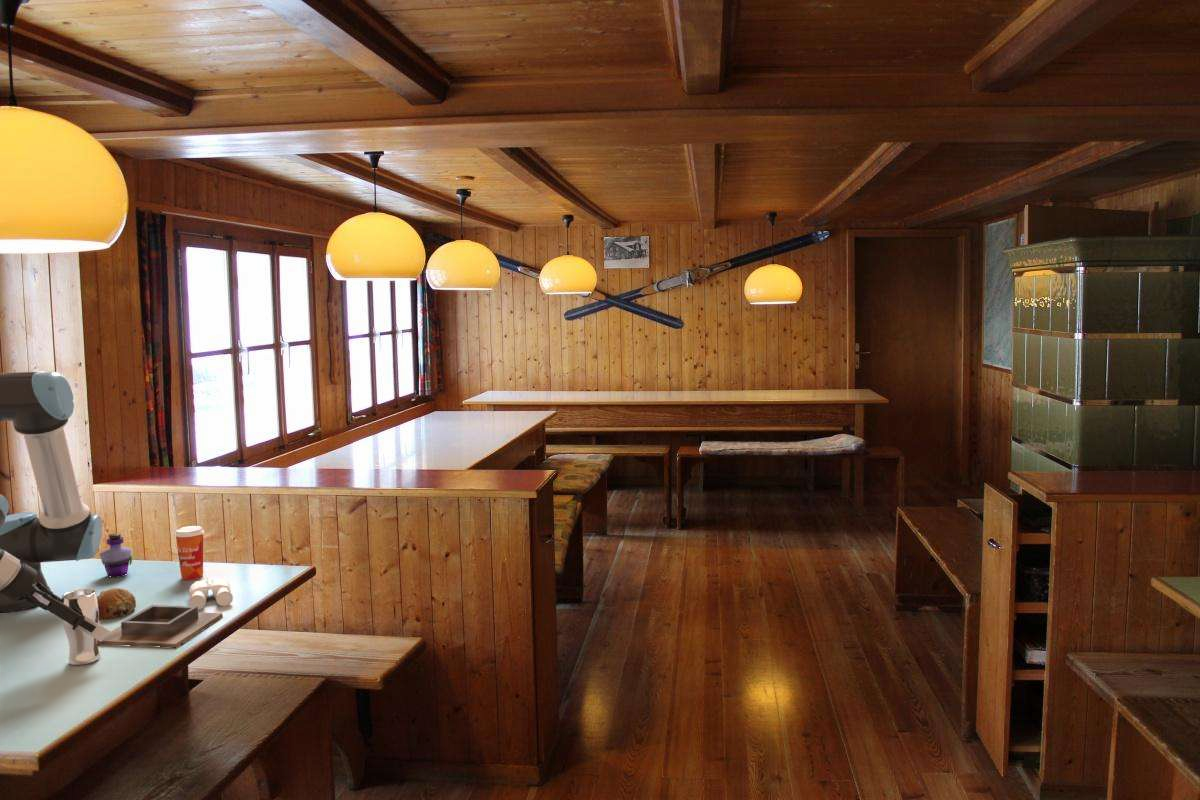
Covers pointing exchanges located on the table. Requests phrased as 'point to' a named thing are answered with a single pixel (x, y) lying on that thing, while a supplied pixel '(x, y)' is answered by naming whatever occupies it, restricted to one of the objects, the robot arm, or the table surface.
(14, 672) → the table surface
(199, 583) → the binoculars
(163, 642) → the holder board
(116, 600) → the bread roll
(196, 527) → the paper cup
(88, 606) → the beer glass
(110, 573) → the potion bottle
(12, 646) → the table surface
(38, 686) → the table surface
